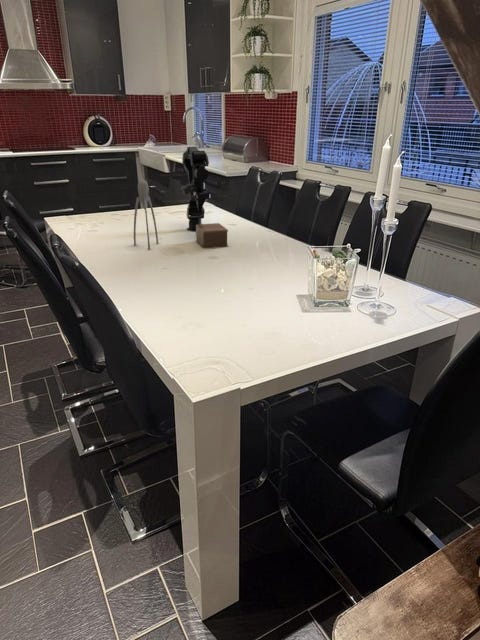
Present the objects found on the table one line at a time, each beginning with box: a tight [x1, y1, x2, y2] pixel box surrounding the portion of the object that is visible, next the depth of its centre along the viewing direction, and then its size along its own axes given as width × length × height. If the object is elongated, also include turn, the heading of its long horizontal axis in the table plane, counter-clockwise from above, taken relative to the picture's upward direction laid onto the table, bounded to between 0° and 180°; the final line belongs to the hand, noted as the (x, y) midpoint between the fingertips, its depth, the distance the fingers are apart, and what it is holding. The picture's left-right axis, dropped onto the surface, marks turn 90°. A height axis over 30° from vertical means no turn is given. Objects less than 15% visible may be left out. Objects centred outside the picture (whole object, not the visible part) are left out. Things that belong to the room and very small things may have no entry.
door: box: [196, 222, 229, 233], centre depth 221 cm, size 14×12×1 cm
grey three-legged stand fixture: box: [133, 179, 159, 251], centre depth 213 cm, size 11×10×30 cm
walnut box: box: [195, 227, 228, 249], centre depth 223 cm, size 14×12×7 cm
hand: (199, 210), depth 232 cm, fingers closed
